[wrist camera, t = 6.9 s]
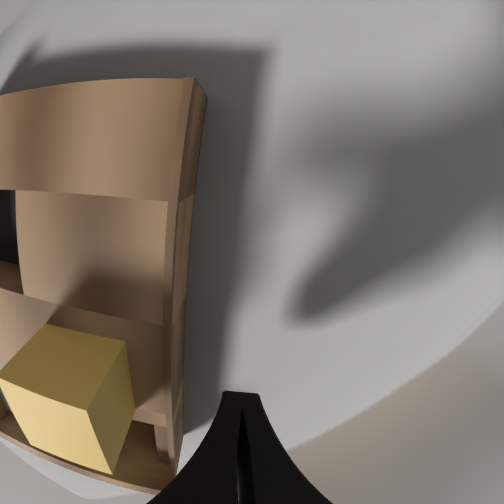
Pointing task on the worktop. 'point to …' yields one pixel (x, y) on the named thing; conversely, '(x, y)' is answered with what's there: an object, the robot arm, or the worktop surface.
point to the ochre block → (72, 395)
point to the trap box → (103, 243)
